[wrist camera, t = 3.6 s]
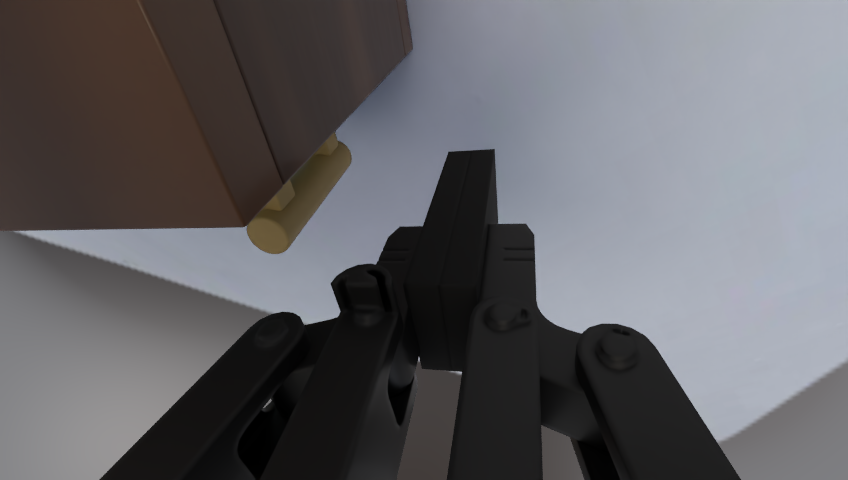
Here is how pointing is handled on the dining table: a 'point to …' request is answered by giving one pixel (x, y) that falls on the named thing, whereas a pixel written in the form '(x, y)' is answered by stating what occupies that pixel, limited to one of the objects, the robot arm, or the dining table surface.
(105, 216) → the cabinet
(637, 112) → the dining table surface
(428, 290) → the robot arm
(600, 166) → the dining table surface
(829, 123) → the dining table surface
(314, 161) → the glass door
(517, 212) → the dining table surface
